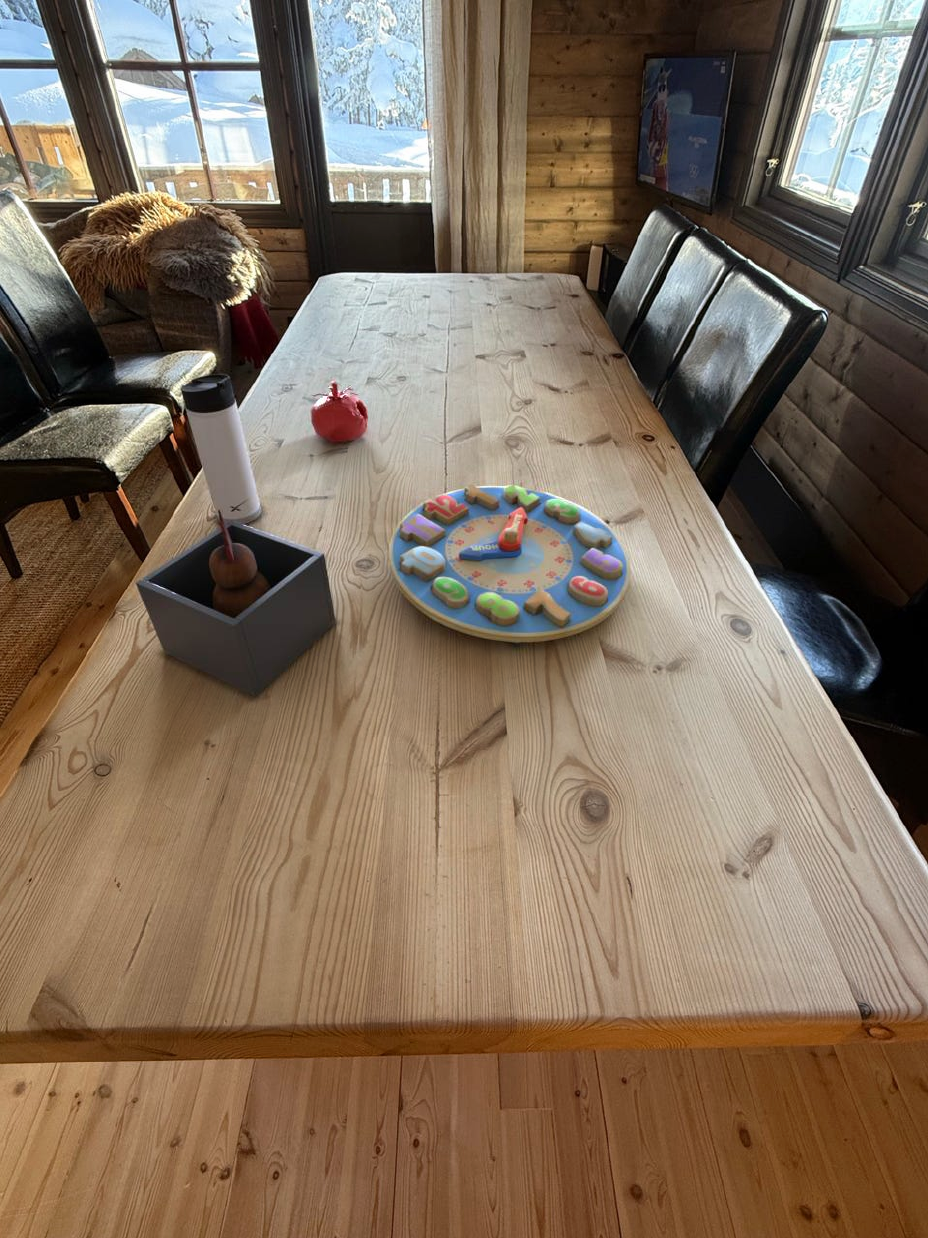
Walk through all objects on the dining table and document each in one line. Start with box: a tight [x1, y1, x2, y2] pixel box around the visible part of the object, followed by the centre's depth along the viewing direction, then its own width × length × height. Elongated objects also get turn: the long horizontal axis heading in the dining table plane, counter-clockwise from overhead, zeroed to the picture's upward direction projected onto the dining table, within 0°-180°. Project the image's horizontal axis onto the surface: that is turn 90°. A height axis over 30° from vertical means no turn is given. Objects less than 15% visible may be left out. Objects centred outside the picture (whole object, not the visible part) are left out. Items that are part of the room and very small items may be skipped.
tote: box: [135, 520, 337, 698], centre depth 72 cm, size 14×14×10 cm
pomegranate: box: [310, 381, 369, 444], centre depth 112 cm, size 10×10×9 cm
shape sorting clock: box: [388, 484, 632, 645], centre depth 83 cm, size 31×30×6 cm
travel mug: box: [180, 373, 262, 525], centre depth 89 cm, size 6×7×20 cm
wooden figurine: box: [209, 510, 271, 619], centre depth 70 cm, size 7×6×15 cm
